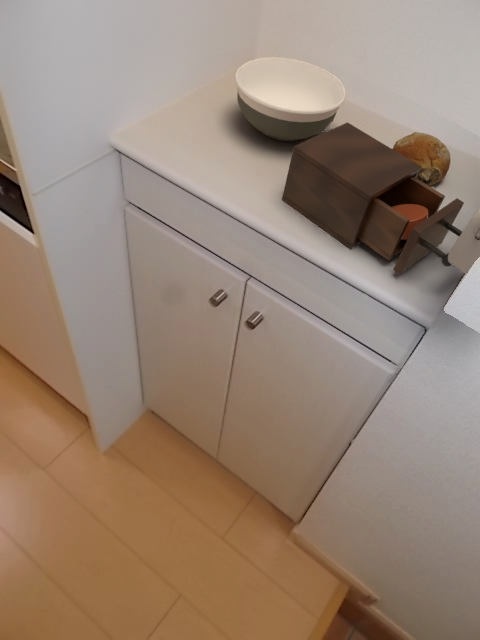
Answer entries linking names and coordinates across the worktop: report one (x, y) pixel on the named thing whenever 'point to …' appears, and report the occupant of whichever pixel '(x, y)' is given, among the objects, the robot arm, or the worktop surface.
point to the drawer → (389, 224)
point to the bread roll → (425, 156)
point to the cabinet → (342, 179)
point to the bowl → (288, 97)
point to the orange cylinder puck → (412, 216)
